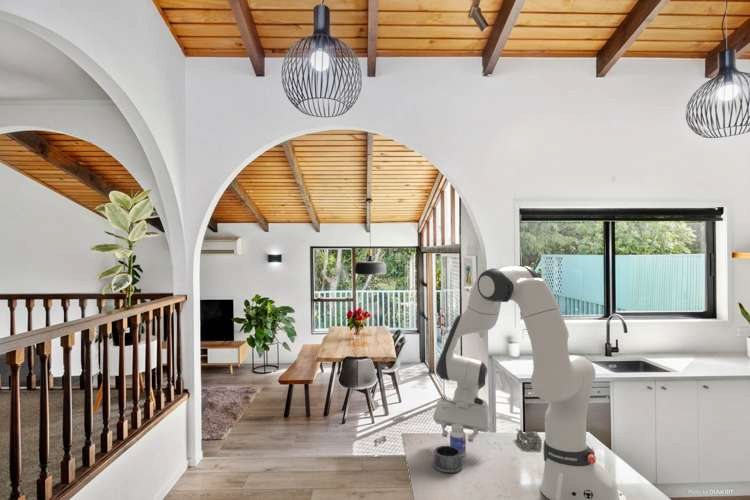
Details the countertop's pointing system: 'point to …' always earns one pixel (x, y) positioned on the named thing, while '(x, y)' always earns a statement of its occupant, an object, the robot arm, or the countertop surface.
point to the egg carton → (529, 440)
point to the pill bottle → (458, 438)
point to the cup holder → (447, 460)
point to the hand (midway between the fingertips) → (457, 438)
